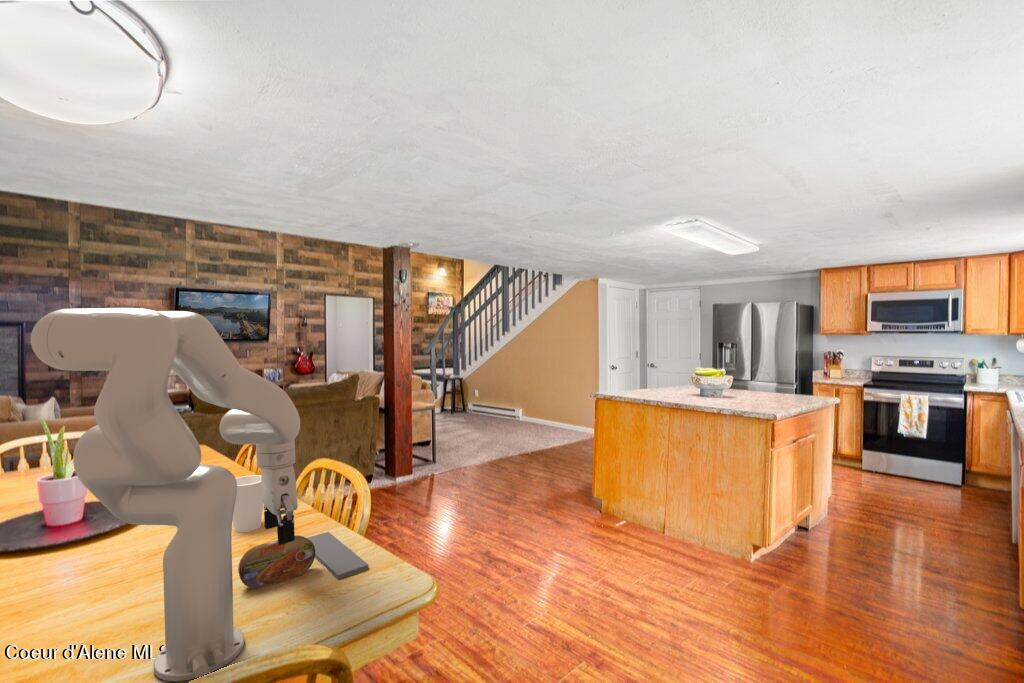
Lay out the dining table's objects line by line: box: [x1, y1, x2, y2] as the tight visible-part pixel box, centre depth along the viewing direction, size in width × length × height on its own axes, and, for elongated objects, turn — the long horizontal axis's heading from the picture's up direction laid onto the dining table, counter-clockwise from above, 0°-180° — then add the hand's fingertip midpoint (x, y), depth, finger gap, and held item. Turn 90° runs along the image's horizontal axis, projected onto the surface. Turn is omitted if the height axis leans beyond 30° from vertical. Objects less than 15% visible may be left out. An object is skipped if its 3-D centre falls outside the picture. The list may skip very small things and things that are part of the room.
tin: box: [237, 535, 316, 589], centre depth 106 cm, size 15×3×8 cm, turn 128°
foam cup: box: [232, 474, 264, 533], centre depth 133 cm, size 10×9×13 cm
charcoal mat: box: [306, 531, 370, 580], centre depth 117 cm, size 24×7×1 cm, turn 41°
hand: (279, 534), depth 106 cm, fingers open, 9 cm apart
